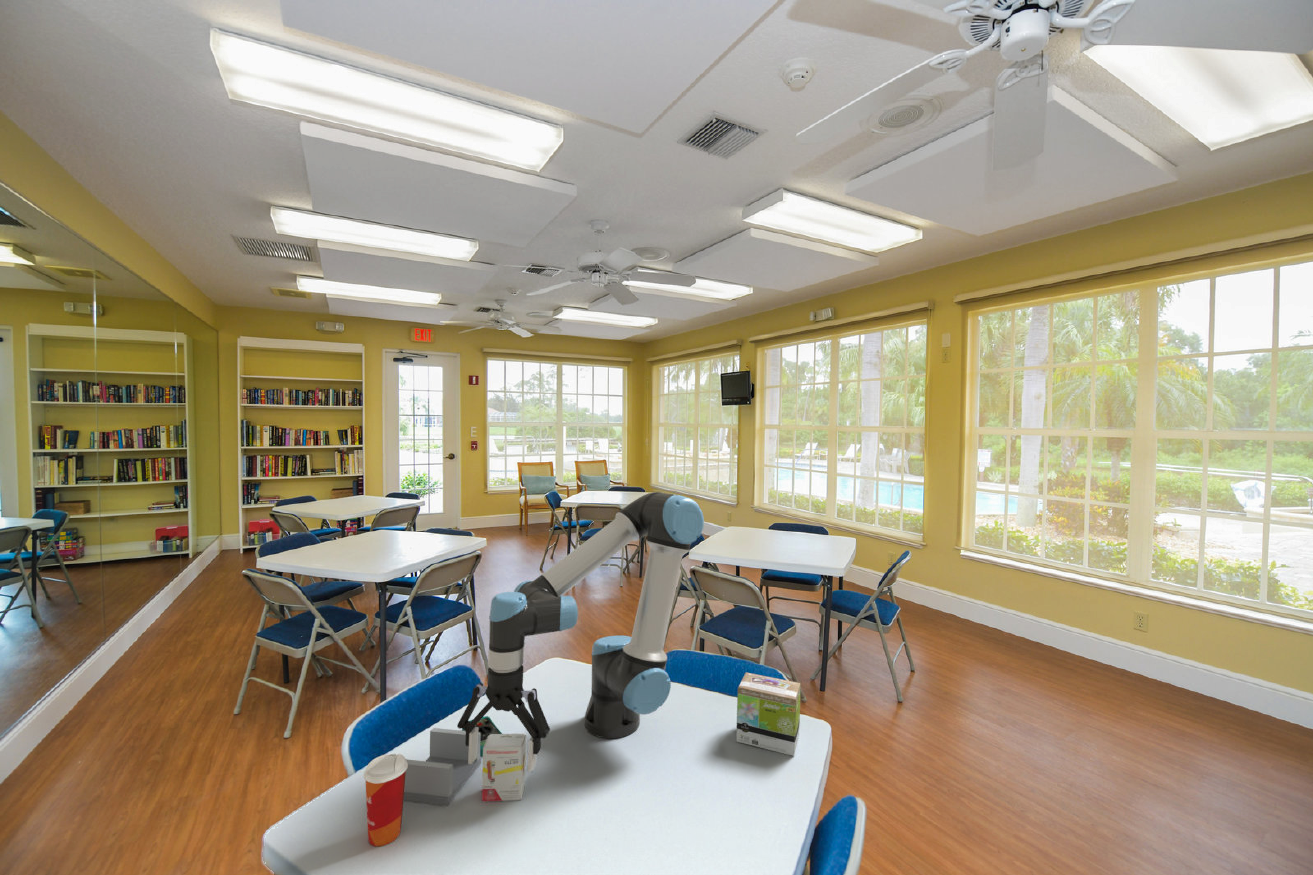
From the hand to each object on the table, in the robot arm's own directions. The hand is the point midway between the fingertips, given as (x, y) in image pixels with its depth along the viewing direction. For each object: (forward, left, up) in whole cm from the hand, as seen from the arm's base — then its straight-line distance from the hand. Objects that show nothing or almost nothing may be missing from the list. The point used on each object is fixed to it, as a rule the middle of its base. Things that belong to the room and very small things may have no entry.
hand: (502, 764), depth 114 cm
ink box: (0, 0, -7) cm, 7 cm away
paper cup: (+17, +15, -7) cm, 24 cm away
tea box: (-59, -31, -7) cm, 67 cm away
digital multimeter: (+13, -19, -7) cm, 25 cm away
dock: (+16, -2, -7) cm, 17 cm away
